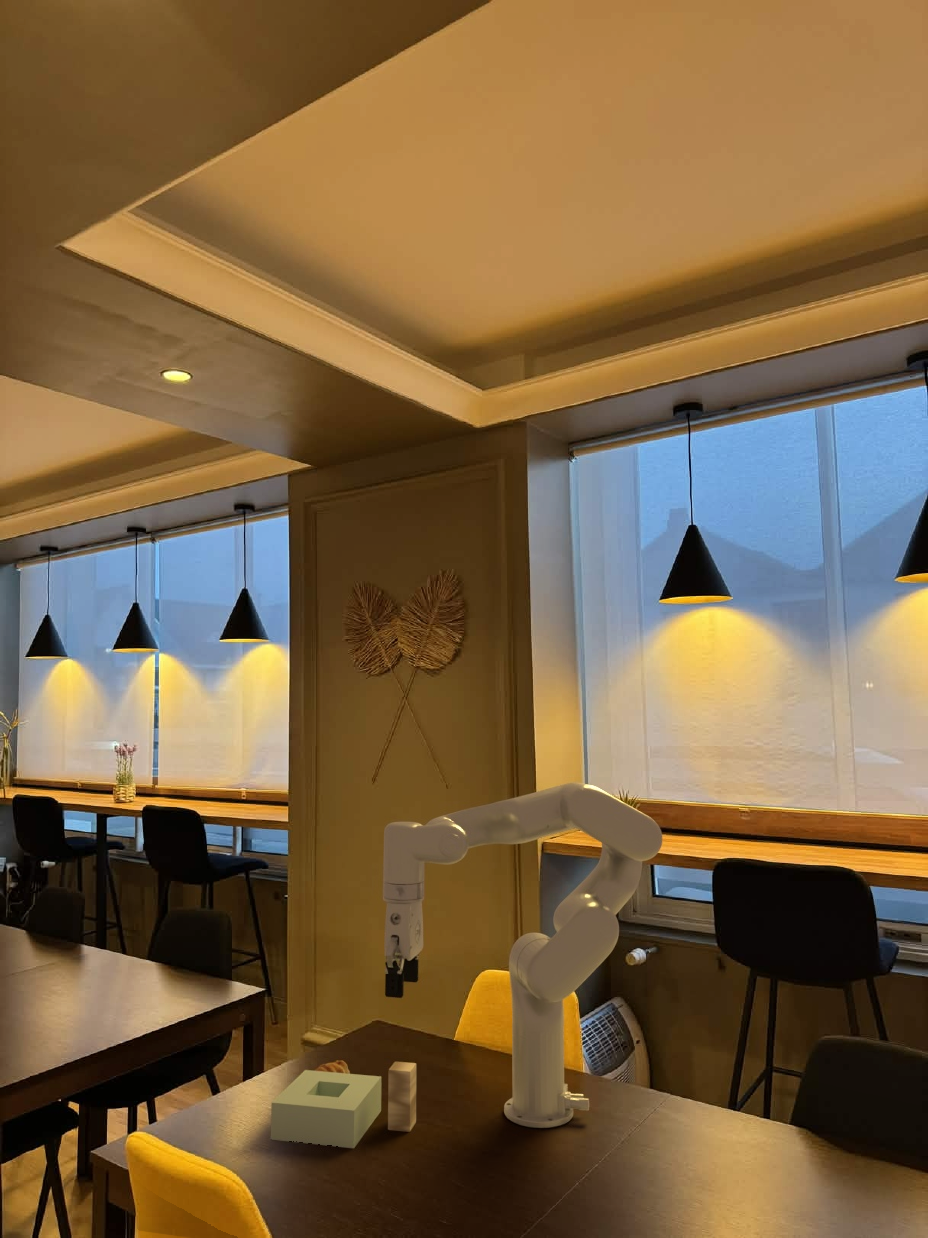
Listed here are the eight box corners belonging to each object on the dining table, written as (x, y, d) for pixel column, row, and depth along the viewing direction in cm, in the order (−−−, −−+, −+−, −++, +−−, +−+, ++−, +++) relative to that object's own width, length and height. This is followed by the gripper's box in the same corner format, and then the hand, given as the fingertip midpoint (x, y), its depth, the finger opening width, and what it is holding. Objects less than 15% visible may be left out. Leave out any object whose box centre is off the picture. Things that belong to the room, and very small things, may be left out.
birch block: (416, 1122, 160) (416, 1063, 161) (409, 1132, 156) (410, 1071, 157) (394, 1120, 161) (395, 1061, 162) (387, 1129, 157) (388, 1070, 158)
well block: (381, 1111, 165) (381, 1076, 165) (353, 1148, 150) (354, 1110, 151) (304, 1103, 168) (305, 1070, 168) (270, 1139, 153) (271, 1102, 154)
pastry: (312, 1097, 171) (312, 1076, 172) (294, 1086, 176) (295, 1066, 177) (353, 1084, 177) (354, 1064, 178) (335, 1074, 182) (335, 1055, 183)
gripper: (410, 901, 154) (408, 1005, 152) (435, 884, 171) (434, 977, 169) (368, 899, 156) (366, 1002, 154) (397, 882, 172) (395, 975, 170)
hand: (402, 989), depth 161 cm, fingers open, 9 cm apart
